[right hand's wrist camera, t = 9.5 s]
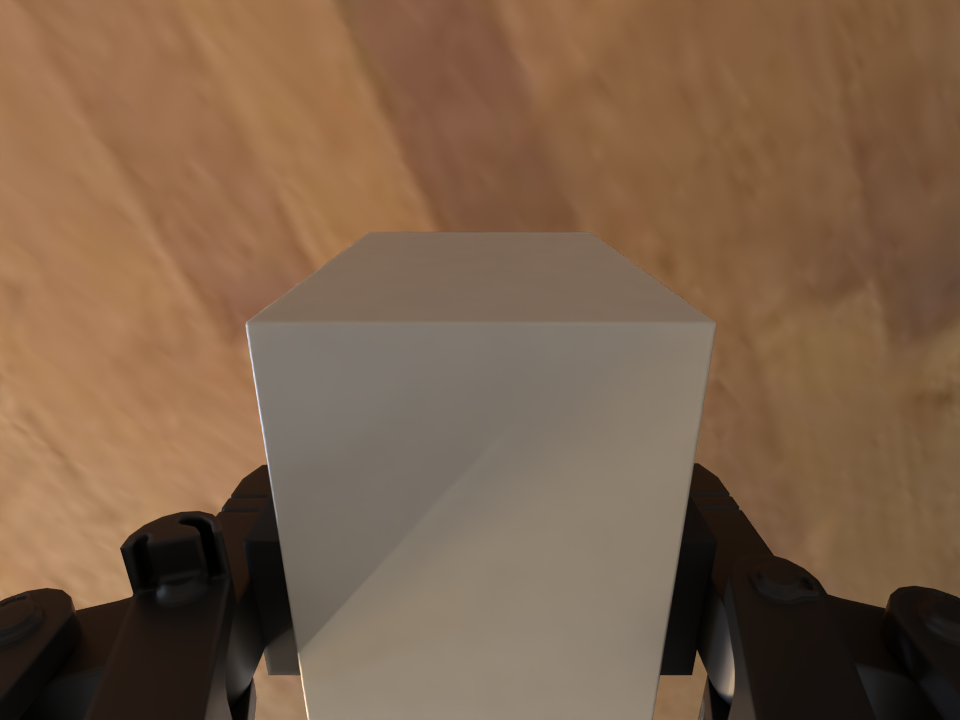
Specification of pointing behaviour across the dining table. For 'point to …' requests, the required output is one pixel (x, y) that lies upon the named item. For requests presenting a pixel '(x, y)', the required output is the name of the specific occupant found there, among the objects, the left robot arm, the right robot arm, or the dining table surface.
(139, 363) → the dining table surface
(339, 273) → the bar
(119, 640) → the right robot arm
